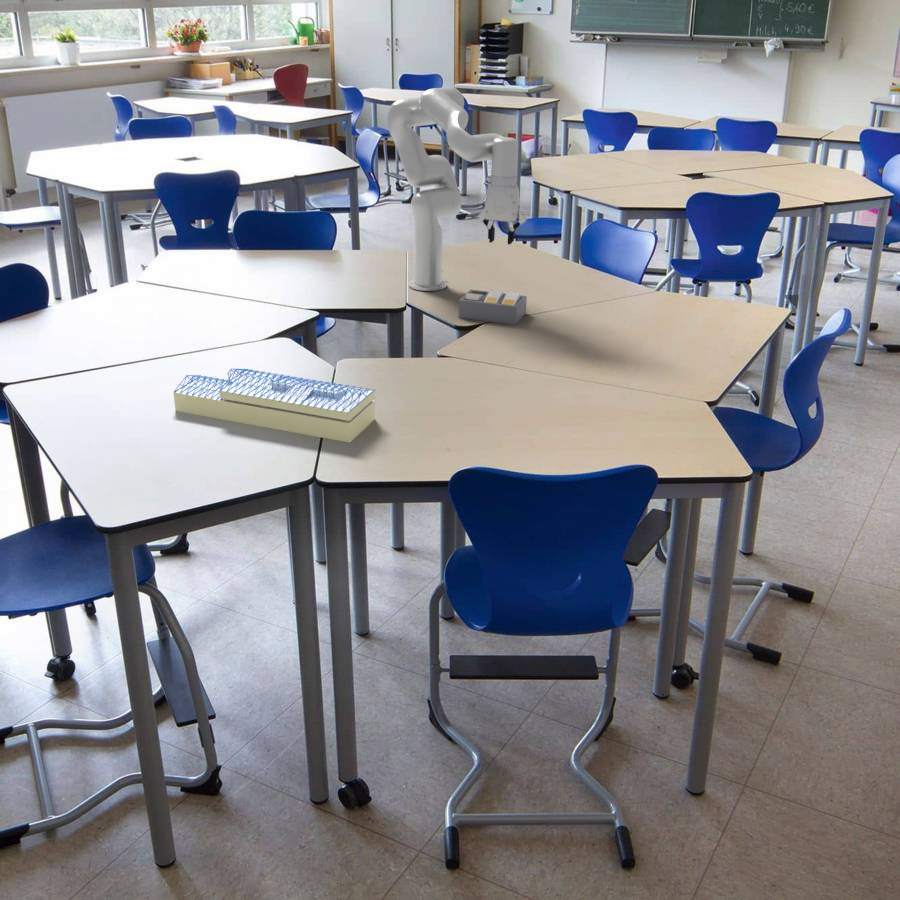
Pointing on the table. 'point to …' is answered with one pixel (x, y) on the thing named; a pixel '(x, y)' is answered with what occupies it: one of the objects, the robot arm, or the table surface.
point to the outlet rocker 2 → (493, 296)
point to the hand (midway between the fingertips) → (500, 241)
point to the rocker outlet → (511, 298)
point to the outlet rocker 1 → (474, 296)
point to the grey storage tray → (492, 309)
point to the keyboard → (280, 403)
